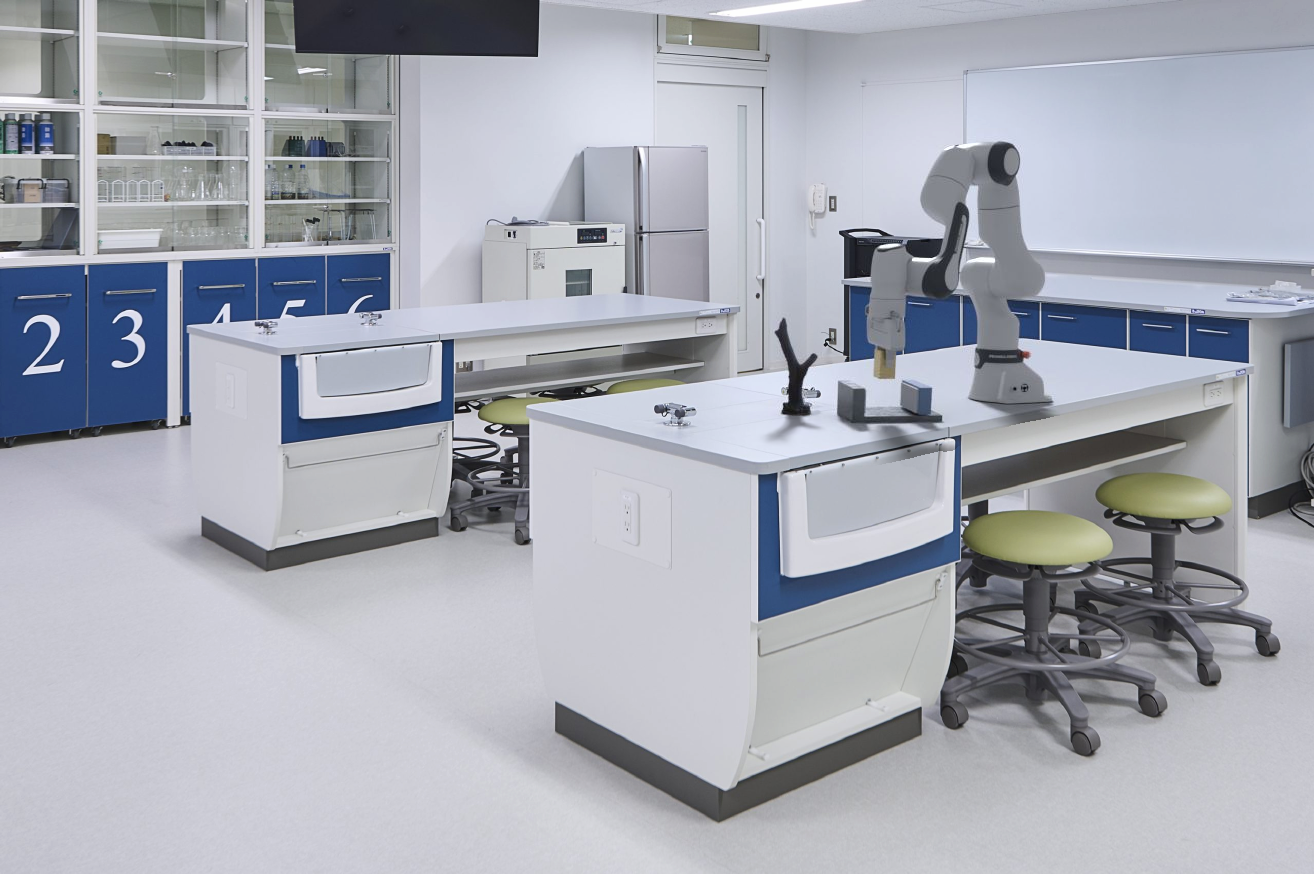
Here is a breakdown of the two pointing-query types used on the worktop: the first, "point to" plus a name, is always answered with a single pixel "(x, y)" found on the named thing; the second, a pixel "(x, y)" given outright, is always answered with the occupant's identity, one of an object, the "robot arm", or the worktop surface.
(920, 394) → the sliding jaw
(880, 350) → the brass block
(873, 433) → the worktop surface
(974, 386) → the robot arm
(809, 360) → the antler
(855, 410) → the base
